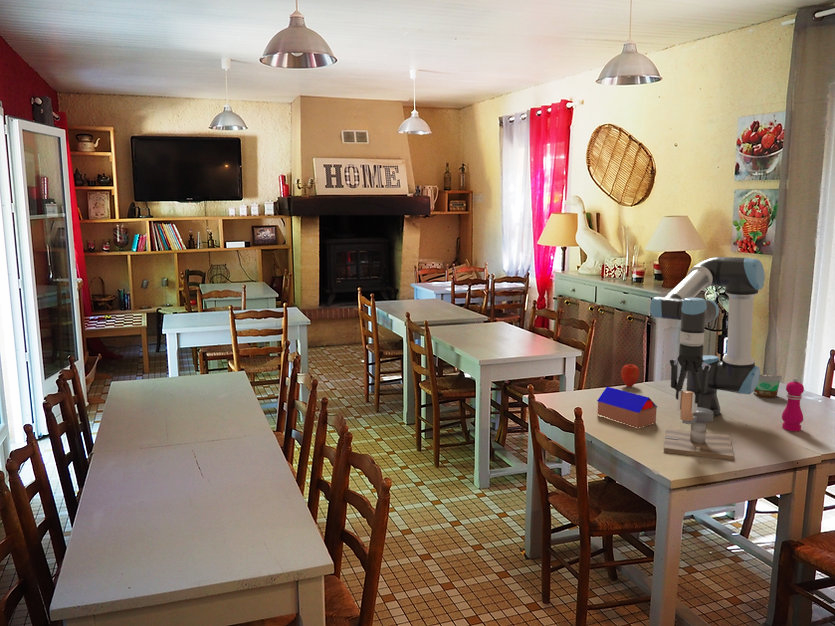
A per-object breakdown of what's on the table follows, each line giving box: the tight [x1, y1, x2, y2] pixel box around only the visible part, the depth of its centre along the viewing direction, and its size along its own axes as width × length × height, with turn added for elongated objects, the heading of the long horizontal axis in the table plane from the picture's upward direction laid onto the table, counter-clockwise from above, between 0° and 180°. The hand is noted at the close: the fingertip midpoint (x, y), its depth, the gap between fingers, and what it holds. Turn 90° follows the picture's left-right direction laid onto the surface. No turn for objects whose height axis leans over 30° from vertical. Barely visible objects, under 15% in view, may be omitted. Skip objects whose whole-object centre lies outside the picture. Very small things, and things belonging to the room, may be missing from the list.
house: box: [596, 386, 658, 429], centre depth 271 cm, size 12×20×12 cm, turn 36°
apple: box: [620, 363, 640, 388], centre depth 320 cm, size 9×8×11 cm
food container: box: [752, 373, 783, 399], centre depth 302 cm, size 12×6×10 cm, turn 73°
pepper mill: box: [781, 377, 805, 432], centre depth 259 cm, size 7×7×20 cm
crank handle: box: [680, 390, 714, 425], centre depth 238 cm, size 16×9×12 cm, turn 134°
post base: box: [663, 422, 735, 461], centre depth 242 cm, size 22×22×10 cm
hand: (687, 410), depth 234 cm, fingers closed on crank handle, 4 cm apart
